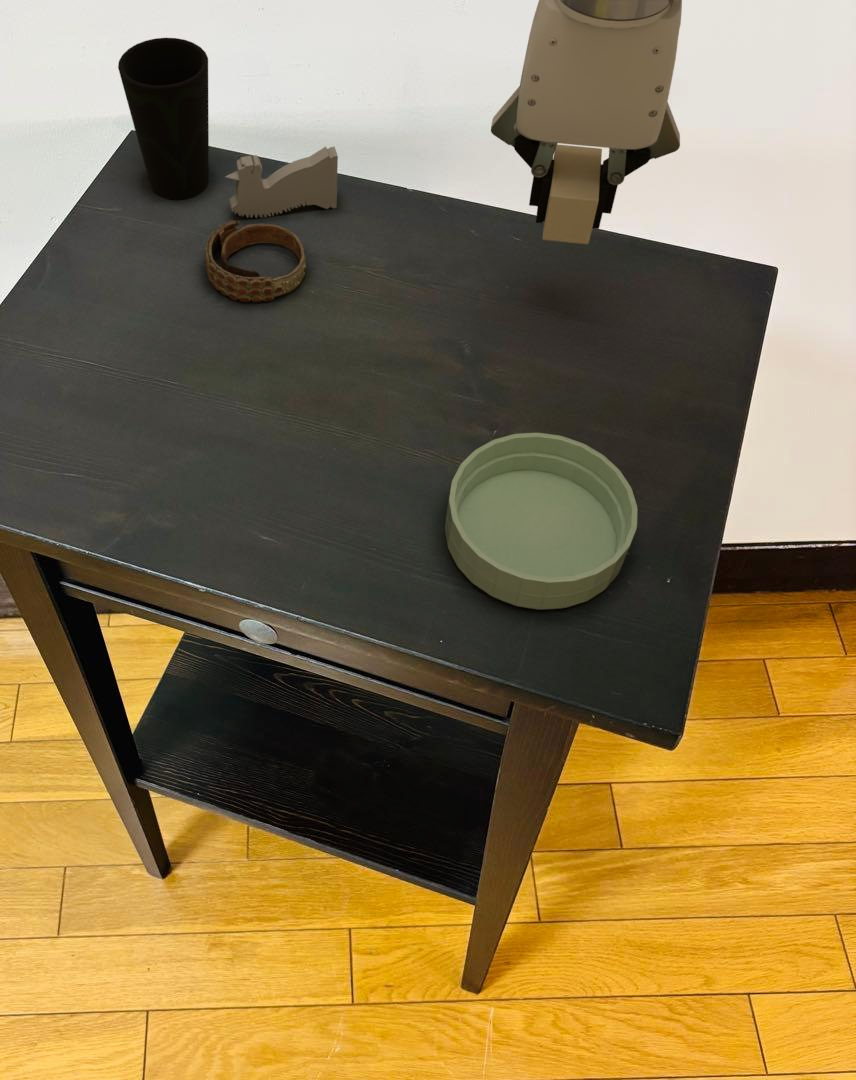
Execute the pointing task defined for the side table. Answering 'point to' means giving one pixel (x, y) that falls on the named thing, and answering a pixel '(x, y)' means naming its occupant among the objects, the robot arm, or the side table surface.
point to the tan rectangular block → (573, 194)
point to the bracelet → (246, 281)
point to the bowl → (540, 520)
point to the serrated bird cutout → (285, 185)
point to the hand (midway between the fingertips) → (568, 212)
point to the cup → (170, 113)
